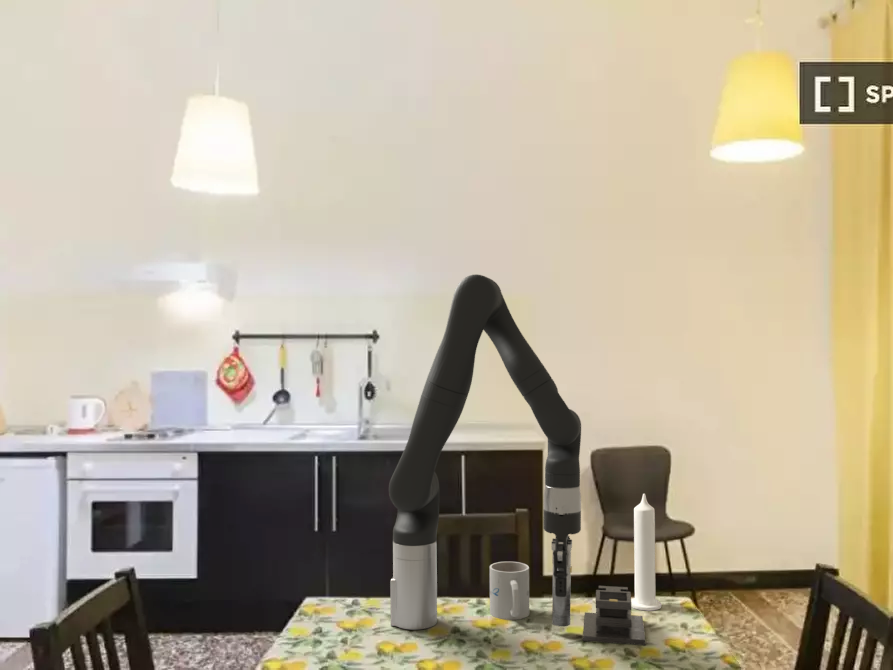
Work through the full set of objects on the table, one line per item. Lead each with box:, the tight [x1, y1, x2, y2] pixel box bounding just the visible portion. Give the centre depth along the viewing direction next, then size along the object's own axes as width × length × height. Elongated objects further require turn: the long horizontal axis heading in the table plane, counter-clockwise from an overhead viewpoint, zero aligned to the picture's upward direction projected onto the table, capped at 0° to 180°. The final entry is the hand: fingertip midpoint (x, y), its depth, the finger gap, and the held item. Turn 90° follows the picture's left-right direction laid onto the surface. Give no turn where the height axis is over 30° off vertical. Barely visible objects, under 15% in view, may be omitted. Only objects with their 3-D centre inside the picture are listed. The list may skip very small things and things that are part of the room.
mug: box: [489, 561, 530, 621], centre depth 172 cm, size 12×9×10 cm
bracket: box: [582, 585, 646, 646], centre depth 162 cm, size 12×14×7 cm
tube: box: [551, 553, 573, 628], centre depth 160 cm, size 4×4×14 cm
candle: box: [631, 493, 662, 612], centre depth 178 cm, size 7×7×25 cm
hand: (561, 592), depth 160 cm, fingers closed on tube, 3 cm apart
